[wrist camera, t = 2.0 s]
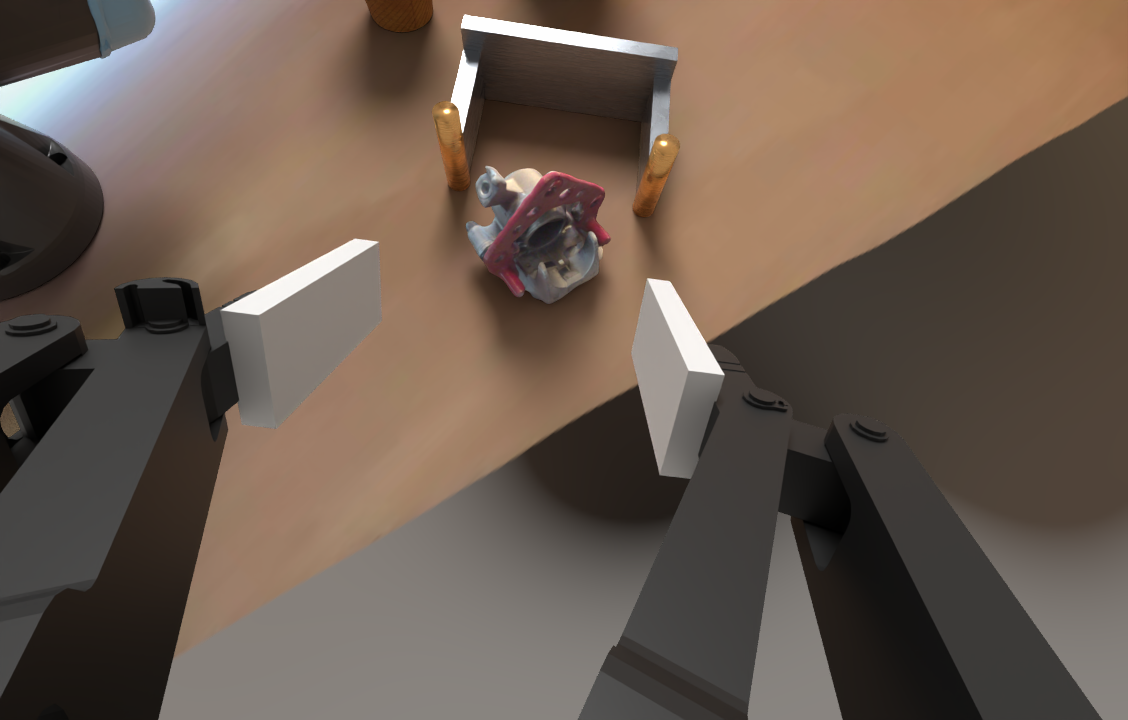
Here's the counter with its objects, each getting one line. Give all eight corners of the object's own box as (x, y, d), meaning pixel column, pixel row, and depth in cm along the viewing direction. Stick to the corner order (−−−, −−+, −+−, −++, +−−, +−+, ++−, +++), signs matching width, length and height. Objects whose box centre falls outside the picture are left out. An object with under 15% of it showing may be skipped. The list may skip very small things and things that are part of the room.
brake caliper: (536, 344, 37) (471, 198, 30) (480, 297, 46) (418, 173, 38) (648, 270, 40) (615, 121, 33) (577, 239, 48) (537, 113, 41)
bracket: (446, 189, 44) (429, 120, 37) (469, 84, 48) (459, 2, 41) (653, 218, 45) (679, 156, 37) (659, 112, 49) (684, 37, 41)
